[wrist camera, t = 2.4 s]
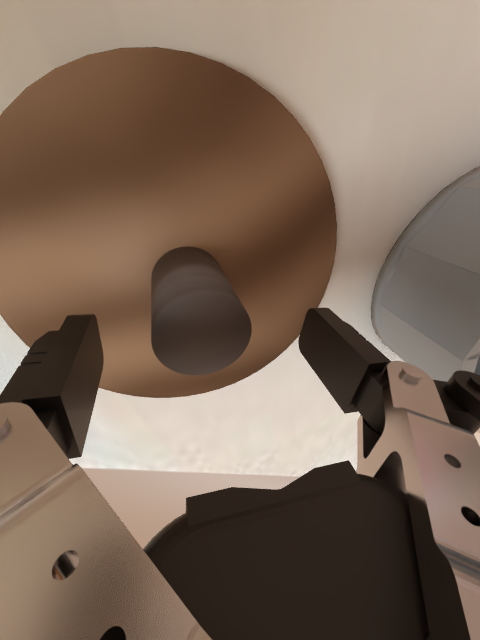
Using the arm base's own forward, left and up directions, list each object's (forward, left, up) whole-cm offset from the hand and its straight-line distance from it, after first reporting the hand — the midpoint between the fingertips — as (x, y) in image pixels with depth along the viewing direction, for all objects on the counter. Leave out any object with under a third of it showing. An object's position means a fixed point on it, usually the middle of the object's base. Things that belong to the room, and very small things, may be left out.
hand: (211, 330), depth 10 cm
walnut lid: (0, 0, -6) cm, 6 cm away
